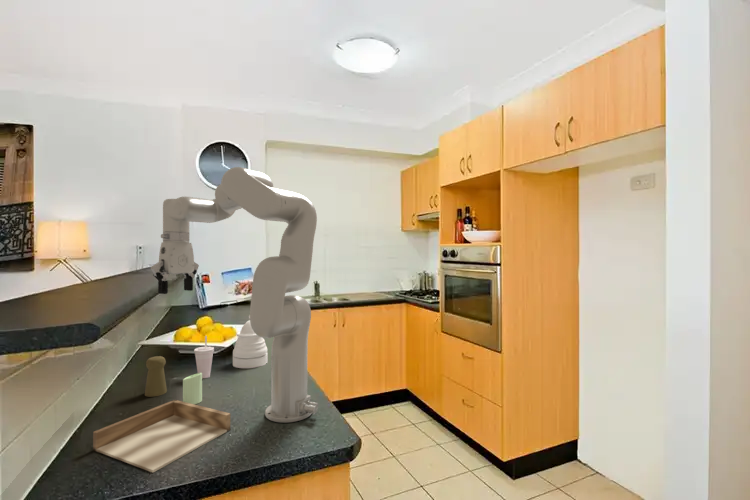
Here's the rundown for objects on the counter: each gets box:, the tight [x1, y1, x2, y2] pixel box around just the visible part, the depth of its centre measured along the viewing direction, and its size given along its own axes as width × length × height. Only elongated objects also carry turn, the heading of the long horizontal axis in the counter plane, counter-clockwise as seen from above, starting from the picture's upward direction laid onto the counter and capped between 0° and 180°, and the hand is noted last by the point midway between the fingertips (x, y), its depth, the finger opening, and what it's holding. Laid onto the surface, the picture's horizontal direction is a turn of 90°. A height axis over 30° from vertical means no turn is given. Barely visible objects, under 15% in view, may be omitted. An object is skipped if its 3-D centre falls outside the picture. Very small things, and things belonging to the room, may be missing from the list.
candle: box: [182, 372, 203, 405], centre depth 111 cm, size 5×5×8 cm
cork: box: [144, 355, 168, 398], centre depth 118 cm, size 6×6×11 cm
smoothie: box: [193, 335, 215, 379], centre depth 133 cm, size 6×6×14 cm
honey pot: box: [232, 315, 269, 369], centre depth 149 cm, size 13×13×18 cm
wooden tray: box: [92, 399, 231, 474], centre depth 89 cm, size 20×20×4 cm
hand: (176, 291), depth 122 cm, fingers open, 9 cm apart
